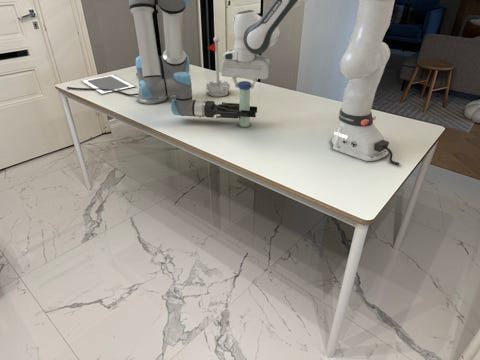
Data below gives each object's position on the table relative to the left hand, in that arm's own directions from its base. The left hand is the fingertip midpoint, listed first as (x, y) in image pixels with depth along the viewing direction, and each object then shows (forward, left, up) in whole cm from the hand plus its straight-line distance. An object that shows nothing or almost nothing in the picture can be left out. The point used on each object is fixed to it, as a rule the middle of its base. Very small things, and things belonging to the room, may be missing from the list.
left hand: (256, 111), depth 151 cm
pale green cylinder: (-5, -2, -7) cm, 8 cm away
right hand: (-5, -2, +11) cm, 12 cm away
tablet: (-107, +1, -7) cm, 107 cm away
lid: (-5, -2, +12) cm, 13 cm away
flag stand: (-41, +25, -7) cm, 49 cm away
